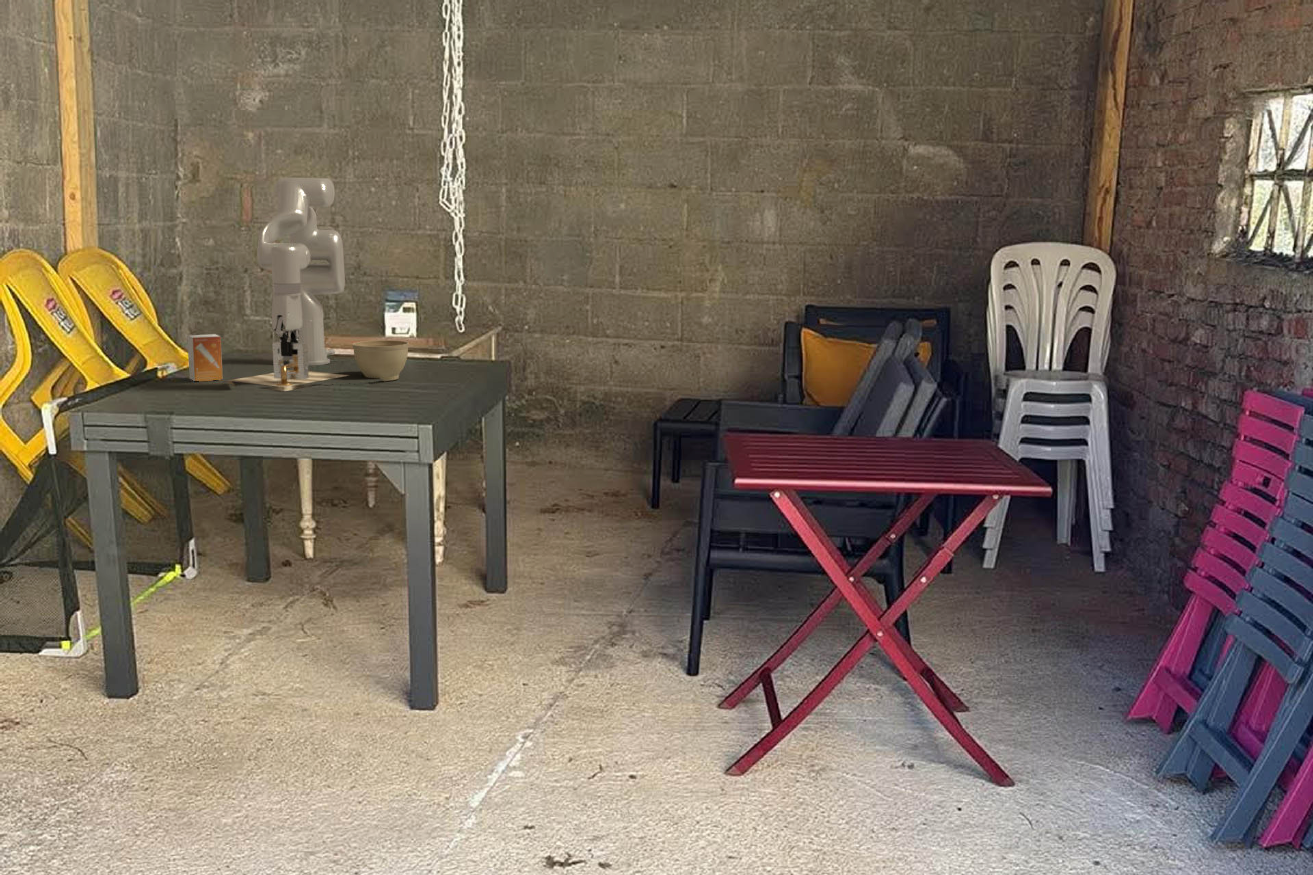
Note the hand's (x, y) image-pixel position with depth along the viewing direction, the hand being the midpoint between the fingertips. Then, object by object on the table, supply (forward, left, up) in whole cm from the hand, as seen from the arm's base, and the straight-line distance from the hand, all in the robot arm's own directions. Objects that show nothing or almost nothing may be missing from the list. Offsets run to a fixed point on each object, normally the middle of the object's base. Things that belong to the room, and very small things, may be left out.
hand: (289, 354), depth 361 cm
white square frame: (0, 0, -7) cm, 7 cm away
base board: (-6, -7, -9) cm, 13 cm away
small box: (+4, -30, -9) cm, 31 cm away
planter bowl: (-24, +12, -9) cm, 29 cm away
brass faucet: (-6, -6, -8) cm, 12 cm away
